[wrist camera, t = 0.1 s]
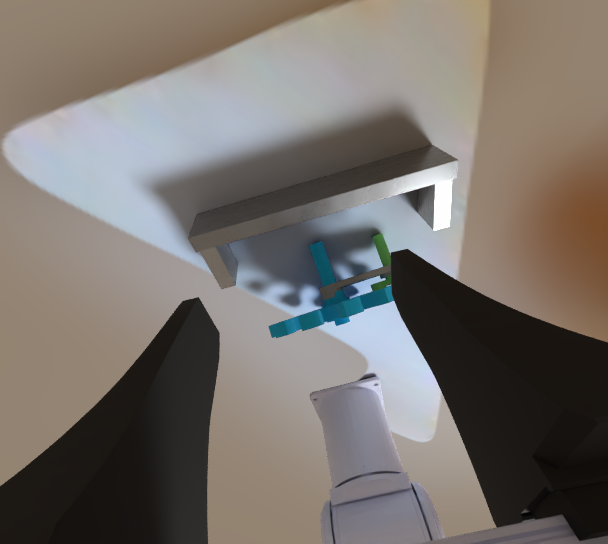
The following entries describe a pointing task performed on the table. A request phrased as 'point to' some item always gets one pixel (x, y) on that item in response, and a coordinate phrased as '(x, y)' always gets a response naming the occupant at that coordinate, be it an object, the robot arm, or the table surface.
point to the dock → (326, 203)
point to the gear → (340, 293)
